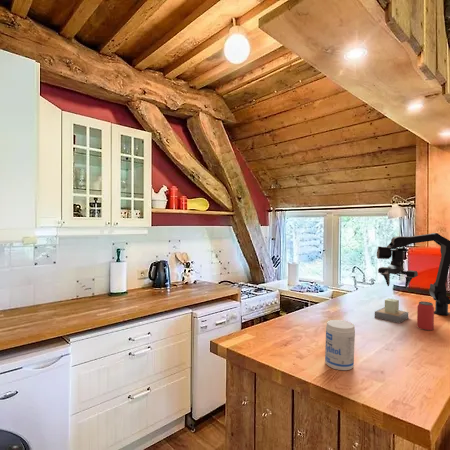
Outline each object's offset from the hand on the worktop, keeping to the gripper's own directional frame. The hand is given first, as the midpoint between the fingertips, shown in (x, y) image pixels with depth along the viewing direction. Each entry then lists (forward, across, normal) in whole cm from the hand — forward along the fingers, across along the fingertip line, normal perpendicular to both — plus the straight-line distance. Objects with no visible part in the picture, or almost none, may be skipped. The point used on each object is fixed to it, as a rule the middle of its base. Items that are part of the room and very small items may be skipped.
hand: (397, 287), depth 180 cm
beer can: (+13, +20, -20) cm, 31 cm away
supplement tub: (+13, +12, -85) cm, 87 cm away
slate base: (+13, +3, -15) cm, 20 cm away
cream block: (+10, +3, -15) cm, 18 cm away
